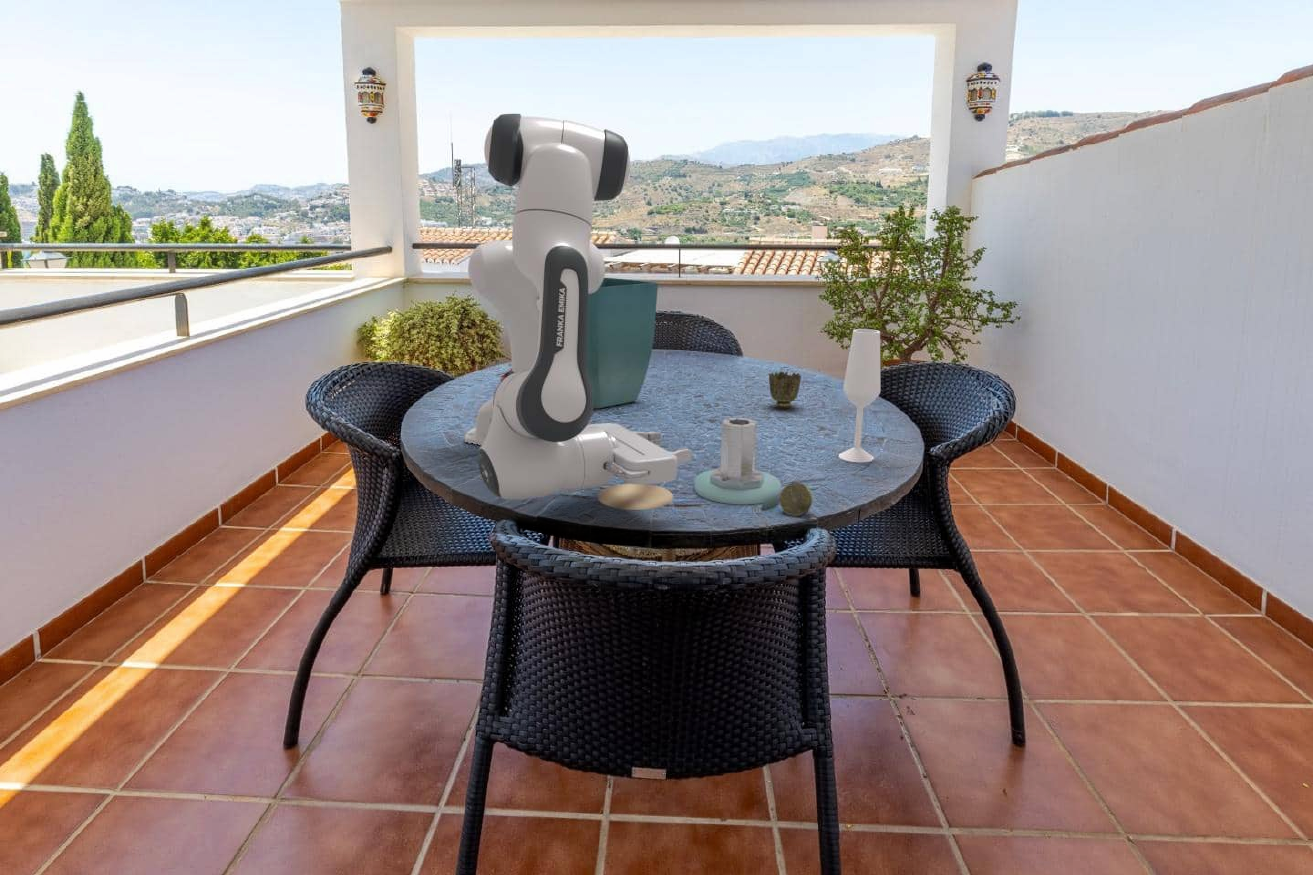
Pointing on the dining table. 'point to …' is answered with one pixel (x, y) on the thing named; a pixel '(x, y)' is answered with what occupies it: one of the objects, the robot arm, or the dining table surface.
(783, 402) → the cup
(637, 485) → the stand
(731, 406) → the dining table surface
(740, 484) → the sleeve
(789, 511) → the lime
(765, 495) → the hub
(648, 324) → the flower pot
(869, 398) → the champagne flute
